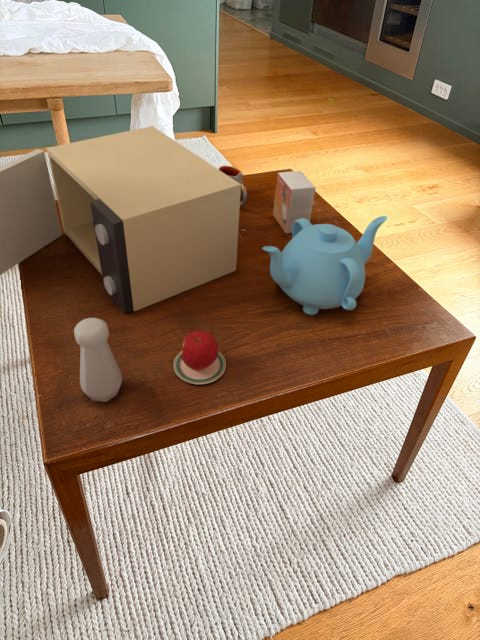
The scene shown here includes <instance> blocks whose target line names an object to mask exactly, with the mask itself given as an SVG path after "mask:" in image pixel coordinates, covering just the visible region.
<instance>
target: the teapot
mask: <svg viewBox="0 0 480 640" xmlns="http://www.w3.org/2000/svg"><path fill="white" fill-rule="evenodd" d="M387 220H388V216H386V215H382V216H378V217H376V218H375V219H373V220H372V221H370V223H368V225H367V226H366V229H365V230H364V232H363V233H362V236H360V239H359V240H358V241H356V240H355V238H354V236H353V235H352V234H351V233H350V232H349V231H348V230H345V229H343V228H342V227H339V226H336V225H334V224H332V223H316V224H312V223H311V220H310V221H309V220H307V219H304V218H301V219H297V220H296V221H295V222H294V224H293V228H292V233H291V239H290V240H289V242H288V243H287V244H286V245H285V247H284V248H283V250H282V251H281V250H280V249H279V248H278V247H276V246H274V245H273V246H272V245H265V246H263V247H262V248H261V249H262V250H263V251H264V252H266V253H268V254H269V256H270V265H269V273H270V276H271V278H272V280H273V281H274V282H275V283H276V284H277V285H279V287H280V288H281V290H282V291H283V293H284V294H285V295H286V296H288V297H289V298H290V299H291V300H292V301H294V302H296V303H297V304H299V305H301V306H302V311H303V312H304V313H305V314H307V315H310V316H311V315H313V316H314V315H316V314H318V313H319V310H330V309H331V310H332V309H335V308H340V307H342V308H343V309H344V310H346V311H353V310H354V309H356V307H357V300H356V299H357V298H358V297H359V296H360V295H361V293H362V291H363V289H364V287H365V282H366V267H365V264H366V263H367V262H368V260H369V259H370V258H371V256H372V252H373V248H374V242H375V237H376V234H377V232H378V230H379V228H380V227H381V226H382V225H383V224H384V223H385V222H386V221H387ZM302 228H303V230H302Z"/></svg>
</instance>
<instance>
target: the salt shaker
mask: <svg viewBox="0 0 480 640" xmlns="http://www.w3.org/2000/svg"><path fill="white" fill-rule="evenodd" d="M73 335H74V340H75V342H76V344H78V345H79V346H80V353H79V354H80V355H79V357H80V358H79V359H80V360H79V385H80V389H81V391H82V392H83V393H84V394H85V395H86V396H87V397H88V398H90V399H91V400H92V401H93V402H103V403H107V402H108V401H111V399H113V398H115V397H116V396H117V395H118V392H119V391H120V388H121V386H122V383H123V376H122V373H121V370H120V367H119V366H118V363H117V361H116V358H115V356H114V354H113V352H112V349H111V347H110V345H109V343H108V339H109V336H110V331H109V327H108V324H107V322H106V321H105V320H103V319H101V318H98V317H88V318H84V319H82V320H80V321H79V322H78V323H77V324H76V325H75V327H74V329H73Z"/></svg>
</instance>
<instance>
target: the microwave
mask: <svg viewBox="0 0 480 640" xmlns="http://www.w3.org/2000/svg"><path fill="white" fill-rule="evenodd" d="M46 152H47V156H48V161H49V166H50V172H51V176H52V180H53V185H54V190H55V195H56V200H57V204H58V208H59V214H60V218H61V222H62V227H63V232H64V234H65V235H66V237H68V238H69V240H70V241H71V243H73V244H74V246H75V247H76V248H77V249H78V250H79V251H80V252H81V253H82V255H83V256H84V257H85V258H86V259H87V261H89V263H90V264H91V265H92V266H93V267H94V268H95V269H96V270H97V271H98V273H99V274H100V275H101V276H102V282H103V288H104V289H103V290H104V292H106V293H107V295H108V296H109V297H110V298H111V299H112V301H114V303H115V304H116V305H117V306H118V307H119V309H120V310H121V311H122V313H124V314H125V315H127V314H129V313H132V312H136V311H139V310H142V309H144V308H146V307H149V306H152V305H154V304H156V303H159V302H161V301H165V300H167V299H169V298H171V297H174V296H176V295H179V294H181V293H183V292H186V291H189V290H191V289H194V288H196V287H198V286H201V285H203V284H206V283H209V282H211V281H213V280H216V279H219V278H221V277H223V276H227V275H229V274H231V273H234V272H236V271H237V259H238V240H239V225H240V209H241V207H240V202H241V197H240V192H241V184H240V183H238V182H237V181H235V180H234V179H232V178H230V177H229V176H227V175H226V174H224V173H223V172H221V171H220V170H218V168H217V167H215V166H214V165H213V164H211V163H209V162H208V161H206V160H205V159H203V158H202V157H200V156H199V155H198V154H196V153H194V152H193V151H191V150H190V149H188V148H186V147H184V145H182V144H181V143H179V142H177V141H176V140H174V139H173V138H171V137H170V136H168V135H167V134H165V133H164V132H162V131H161V130H160V129H157V128H156V127H154V126H153V125H151V126H146V127H142V128H136V129H132V130H131V129H130V130H127V131H123V132H117V133H112V134H107V135H103V136H97V137H93V138H88V139H84V140H79V141H73V142H69V143H64V144H60V145H55V146H50V147H46Z"/></svg>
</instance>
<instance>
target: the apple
mask: <svg viewBox="0 0 480 640" xmlns="http://www.w3.org/2000/svg"><path fill="white" fill-rule="evenodd" d="M226 366H227V363H226V358H225V356H223V354H222V353H221V352H220V351H219V346H218V343H217V340H216V339H215V337H214V336H213V335H212V334H211V333H210V332H208V331H204V330H195V331H193V332H190V333H189V334H187V335H186V336H185V337H184V338H183V342H182V350H181V351H179V353H178V354H177V355H176V357H175V358H174V360H173V370H174V373H175V374H176V376H177V377H178V378H179V379H181V380H182V381H184V382H186V383H189V384H191V385H207V384H210V383H213V382H215V381H217V380H219V379H220V378H222V376H223V375H224V373H225V371H226Z"/></svg>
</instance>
